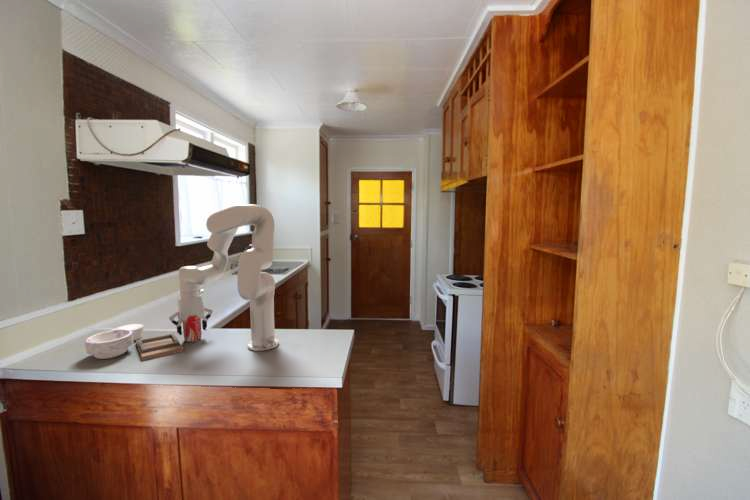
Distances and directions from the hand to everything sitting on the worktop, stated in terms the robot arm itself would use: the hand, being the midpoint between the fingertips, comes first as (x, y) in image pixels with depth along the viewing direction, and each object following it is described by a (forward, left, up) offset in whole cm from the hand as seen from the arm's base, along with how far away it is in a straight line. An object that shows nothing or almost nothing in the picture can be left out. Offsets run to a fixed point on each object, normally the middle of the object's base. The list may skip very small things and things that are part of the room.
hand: (192, 331), depth 154 cm
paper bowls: (+4, +29, -4) cm, 30 cm away
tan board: (0, +13, -4) cm, 14 cm away
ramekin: (+20, +22, -4) cm, 30 cm away
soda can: (0, 0, -4) cm, 4 cm away
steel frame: (0, +13, -2) cm, 13 cm away
